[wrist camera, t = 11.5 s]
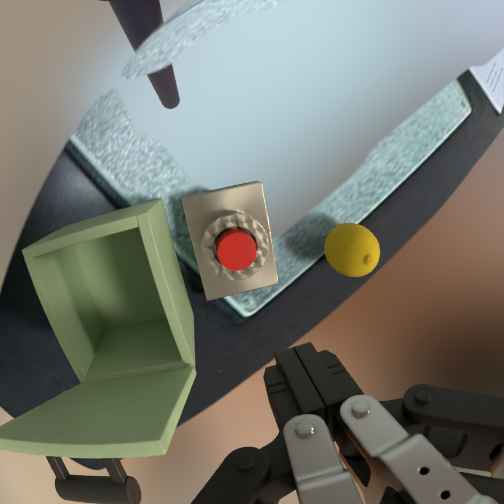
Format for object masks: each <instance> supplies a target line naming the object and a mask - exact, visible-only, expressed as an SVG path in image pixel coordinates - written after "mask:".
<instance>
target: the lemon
mask: <svg viewBox="0 0 504 504" xmlns="http://www.w3.org/2000/svg"><path fill="white" fill-rule="evenodd" d="M324 250H325V255H326V258H327V260H328V262H329V263H330V265H331V266H332V267H333V268H334V269H335V270H337V271H338V272H339V273H341V274H344V275H347V276H351V277H360V276H364V275H366V274H368V273H369V272H371V271H372V270H373V269H374V268H375V266H376V265H377V263H378V260H379V257H380V248H379V244H378V242H377V239H376V238H375V236H374V235H373V234H372V233H371V232H370V231H369V230H368V229H366V228H365V227H363V226H361V225H358V224H355V223H344V224H340V225H338V226H336V227H334V228H333V229H332V230H331V231H330V232H329V234H328V235H327V237H326V240H325V244H324Z"/></svg>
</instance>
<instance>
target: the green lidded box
mask: <svg viewBox="0 0 504 504" xmlns="http://www.w3.org/2000/svg"><path fill="white" fill-rule="evenodd" d="M22 252H23V256H24V259H25V262H26V265H27V267H28V270H29V273H30V276H31V279H32V281H33V284H34V287H35V289H36V292H37V294H38V297H39V299H40V302H41V304H42V306H43V309H44V311H45V313H46V316H47V318H48V320H49V322H50V325H51V327H52V329H53V331H54V333H55V335H56V337H57V339H58V341H59V343H60V345H61V347H62V349H63V351H64V353H65V355H66V357H67V359H68V360H69V362H70V364H71V366H72V368H73V370H74V371H75V373H76V375H77V376H78V378H79V380H80V382H81V383H90V382H99V381H107V380H115V379H122V378H129V377H135V376H142V375H148V374H154V373H159V372H165V371H171V370H176V369H181V368H186V367H191V366H194V367H195V350H194V315H193V311H192V308H191V305H190V302H189V298H188V295H187V291H186V288H185V285H184V281H183V278H182V274H181V271H180V267H179V263H178V260H177V256H176V252H175V248H174V245H173V241H172V237H171V233H170V229H169V225H168V221H167V217H166V213H165V209H164V204H163V200H162V198H161V199H157V200H153V201H149V202H145V203H141V204H138V205H134V206H130V207H127V208H123V209H120V210H116V211H113V212H109V213H106V214H102V215H99V216H96V217H92V218H89V219H86V220H82V221H79V222H76V223H73V224H70V225H67V226H64V227H62V228H60V229H59V230H57V231H55V232H53V233H51V234H49V235H47V236H46V237H44V238H42V239H40V240H38V241H37V242H35V243H33V244H31V245H30V246H28V247H26V248H24V249H23V250H22Z"/></svg>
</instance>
